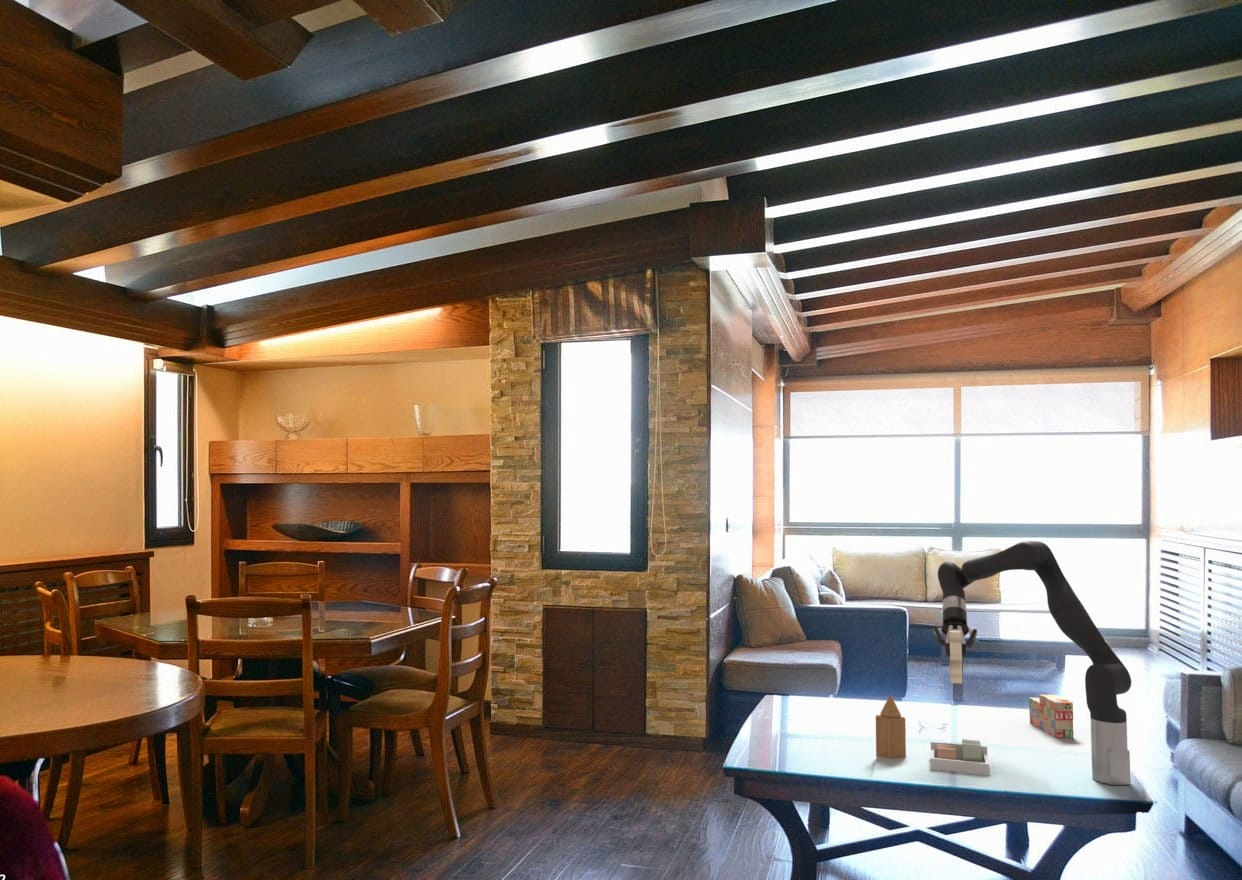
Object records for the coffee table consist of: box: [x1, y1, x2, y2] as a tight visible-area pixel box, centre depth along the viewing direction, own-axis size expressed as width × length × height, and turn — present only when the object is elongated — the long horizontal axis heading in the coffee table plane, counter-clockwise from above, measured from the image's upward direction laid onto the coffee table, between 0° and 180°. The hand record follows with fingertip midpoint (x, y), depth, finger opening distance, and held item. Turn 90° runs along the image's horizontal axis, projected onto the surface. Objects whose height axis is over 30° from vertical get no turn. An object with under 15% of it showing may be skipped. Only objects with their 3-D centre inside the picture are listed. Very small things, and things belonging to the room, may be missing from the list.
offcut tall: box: [961, 738, 982, 762], centre depth 264 cm, size 6×5×7 cm
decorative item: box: [875, 693, 907, 760], centre depth 276 cm, size 7×7×20 cm
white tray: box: [929, 738, 991, 776], centre depth 270 cm, size 24×16×6 cm, turn 160°
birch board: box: [949, 629, 963, 685], centre depth 286 cm, size 7×4×16 cm, turn 160°
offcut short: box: [938, 744, 956, 760], centre depth 266 cm, size 5×5×5 cm
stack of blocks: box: [1028, 693, 1074, 739], centre depth 315 cm, size 21×6×12 cm, turn 178°
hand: (955, 655), depth 284 cm, fingers closed on birch board, 3 cm apart
